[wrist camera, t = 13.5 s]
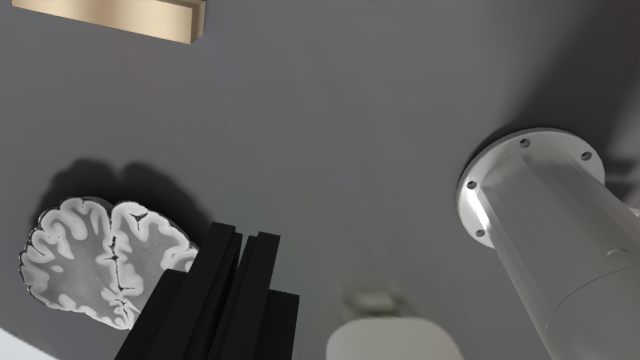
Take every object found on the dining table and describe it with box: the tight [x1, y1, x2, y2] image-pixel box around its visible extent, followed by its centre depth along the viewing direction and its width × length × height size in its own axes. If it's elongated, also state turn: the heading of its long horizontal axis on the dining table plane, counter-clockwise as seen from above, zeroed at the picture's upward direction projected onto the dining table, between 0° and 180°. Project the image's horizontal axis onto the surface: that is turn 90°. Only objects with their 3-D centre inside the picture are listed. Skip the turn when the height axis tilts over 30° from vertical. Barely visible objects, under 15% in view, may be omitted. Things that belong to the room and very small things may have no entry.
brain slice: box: [19, 196, 199, 330], centre depth 43 cm, size 20×17×3 cm
